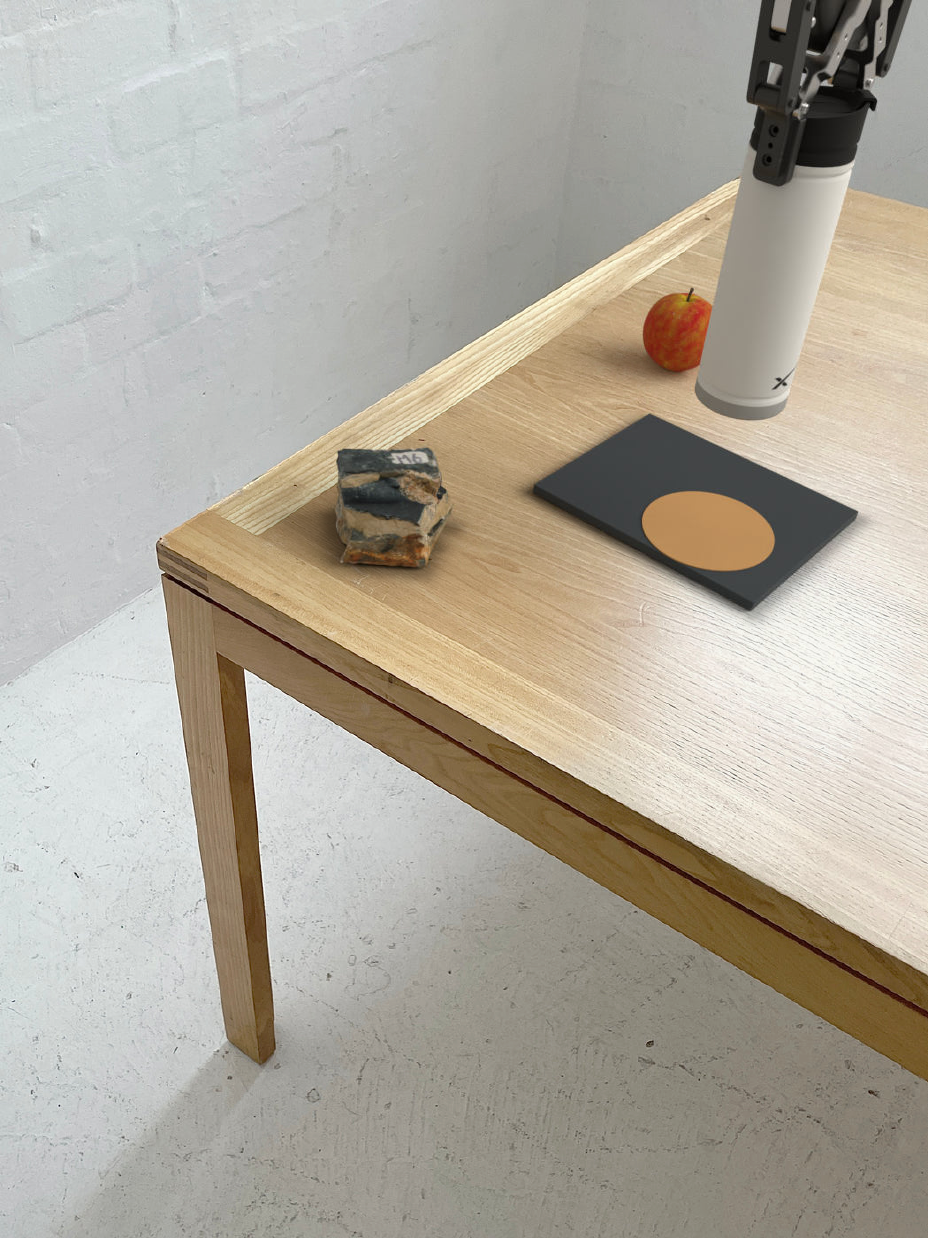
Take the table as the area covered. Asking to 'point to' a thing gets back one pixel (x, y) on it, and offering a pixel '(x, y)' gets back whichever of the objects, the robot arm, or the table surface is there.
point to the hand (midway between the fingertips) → (799, 167)
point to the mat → (698, 508)
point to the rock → (390, 505)
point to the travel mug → (778, 262)
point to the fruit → (677, 331)
